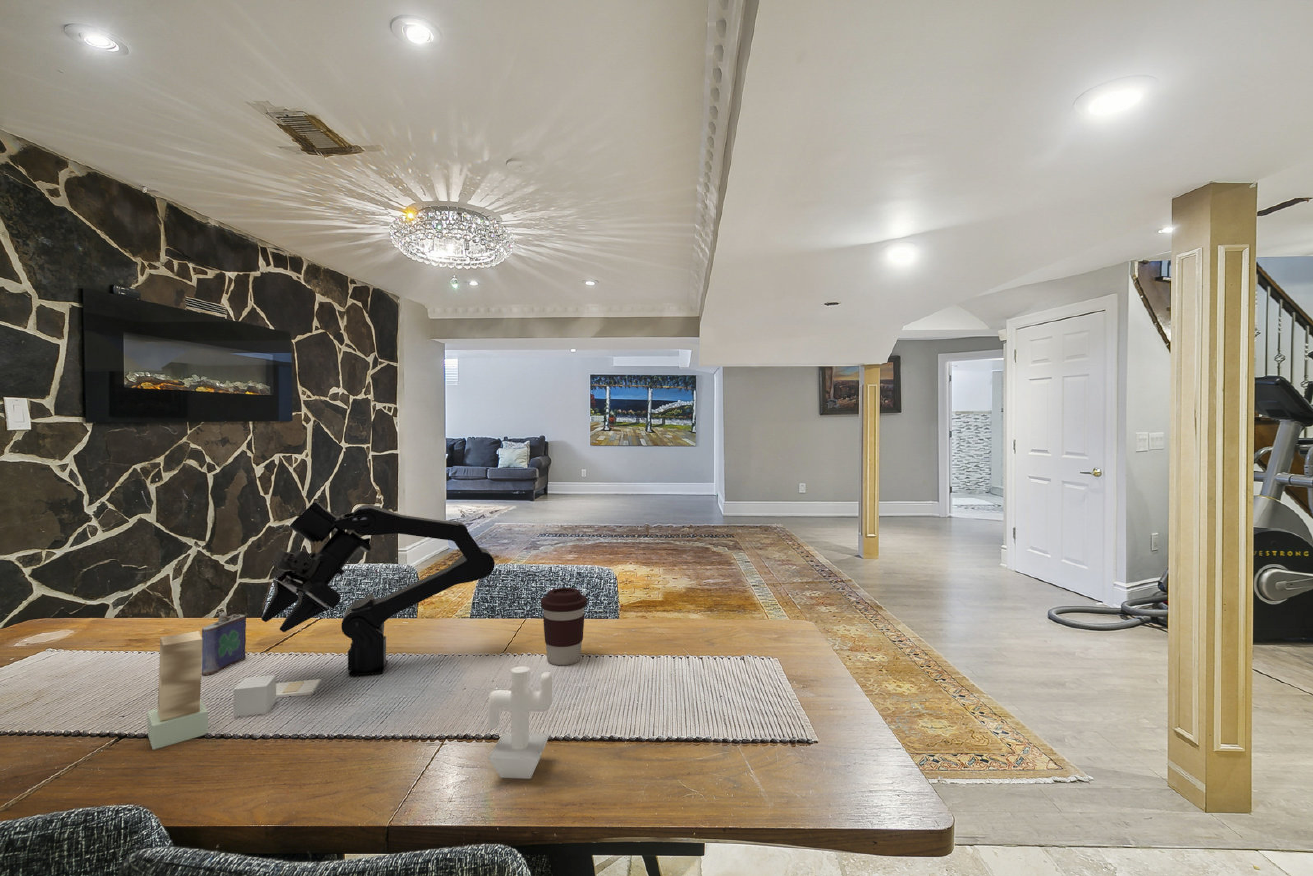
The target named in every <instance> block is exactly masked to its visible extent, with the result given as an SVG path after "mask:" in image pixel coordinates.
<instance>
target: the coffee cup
mask: <svg viewBox="0 0 1313 876" xmlns="http://www.w3.org/2000/svg"><path fill="white" fill-rule="evenodd" d="M587 599H588V598H587V596H586V595H584V594H582V593H581V591H580V589H577V588H573V587H558V588H557V587H556V588H553V589H550V590H549V591H548V592H547V595H545V596H543V597H542V598H541V599H540V608H541V609H542V610H543V616H542V617H543V618H542V621H543V633H544V635H543V636H544V643H545V647H546V660H547V661H548V663H550V664H552V665H555V666H569V665H572V664H573V665H574V664H575V663H577V662H579V661H580V660H581V657H582V642H583V640H584V627H585V608H586V606H587V605H588V600H587Z"/></svg>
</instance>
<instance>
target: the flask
mask: <svg viewBox="0 0 1313 876" xmlns="http://www.w3.org/2000/svg"><path fill="white" fill-rule="evenodd" d="M218 615H219V616H218ZM227 615H228V613H227V612H226V611H220V612H217V613H216V615H215V616H218V618H217V621H216V622H214V623H211V624H209V625H206V626H204V627H202V628H201V637H202V639H203V641H202V666H201V676H210V675H212V674H217V673H219V672H220V671H222V669H223V670H225V669H224V668H226V669H228V668H230V667H231V666H232V665H236V664H237V663H240V662H243V661H245V660H246V658H247V657H246V644H247V643H246V642H247V636H246V633H247V631H246V630H247V621H246V620H247V615H245V614H232V615H230V616H227Z"/></svg>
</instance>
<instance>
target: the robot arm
mask: <svg viewBox="0 0 1313 876" xmlns="http://www.w3.org/2000/svg"><path fill="white" fill-rule="evenodd" d="M288 528H289V529H291V530H292V531H294V532H296V534H298V535H299V536H301V537H303V538H304V539H305V540H307V541H308V542H310V543H311V544H315V542H316V543H319V542H320V543H322V542H324V541H325V539H327V537H328V536H329V535H330V534H331V533H332V532H333V531H334V533H333V535H331V537H329V539H328V540H327V541H326V542H325V543H324V545H322V546H321V547H320V549H319V550H318V551H317V552H315V551H312V552H306V551H303V550H299V549H298V550H296V551H295V552H294V553H293V552H289V551H286V550H281V549H278V550H277V552H276V554H275V557H274V559H273V561H272V563H271V566H272V567H276V568H277V569H278V570H276V572H275V573H274V574H273V575H272V576H271V577H272V578H274V579H273V580H272V583H273V587H274V589H273V590H274V593H273V594H272V597H271V598H270V600H269V603H268V605H267V607H266V608H265V610H264V613H263V615H262V617H261V621H263V622H265V623H267V622H269V621H270V620H272V619H273V618H275V617H277V615H280V613H282V612H284V611H285V610H286V609H288V608H289V607H291V606H292V605H293V604H295V603H296V604H295V605H294V607H293V609H292V610H291V611H290V612H289V614H288V615H287V617H286V618H285V619H284V621H283V622H282V624H281V626H280V627H279V631H281V632H282V633H286V632H289V631H290V630H292V629H293V628H296V627H297V626H298V625H301V624H302V623H305V622H306V621H308V620H310V619H312V618H314V617H315V616H318V615H320V614H321V613H324V612H328V611H329V608H330V609H332V610H334V609H335V608H336V606H337V605H338V604H339V603H340V602H341V593H339V592H338V591H336V589H334V588H332V587H331V586H330V585H329V584H330V583H331V582H332V581H333V579H335V578H336V576H342V575H343V574H344V573H345V571H346V570H344V569H343V568H344V567H345V566H346V564H348V562H349V561H350V560H351V559H352V557H353V556H354V555H355V554H356V553H357V552H358V551H359V550H362V551H363V552H364V553H368V552H370V551H371V550H372V548H371V538H370V537H367V538H363V537H361V536H382V535H383V536H384V535H394V534H397V535H398V534H400V535H407V536H415V537H421V538H430V539H437V540H442V541H445V540H446V541H452V542H454V544H455V545H456V547H457V548H458V549H459V551H460V552H461V554H462V555H461V556H459V557H458V558H457V559H456V560H455V561H454V562H452V563H451V564H450V565H449V566H447V567H444V568H443V569H441V570H439V571H437V572H434V573H433V574H430V575H428V576H426V577H424V578H422V579H420V580H418V581H415V582H413V583H412V584H409V585H406V586H405V587H403V588H401V589H398V590H397V591H395V592H394V591H393V593H392V592H391V593H390V594H388V595H386V596H383V597H382V596H381V597H375V595H374V592H370V593H369V594H368V595H366V596H364V597H363V598H360V599H356V600H355V599H354V600H353V602H352V605H350V606H348V608H346V610H345V612H344V615H343V617H342V620H341V626H340V627H341V631H342V633H343V635H344V636H345V637H347V638H349V639H351V642H350V648H349V649H348V651H347V670H348V671H349V672H348V677H357V676H367V675H379V674H383V673H384V672H385V670H386V668H387V665H388V663H389V660H388V659H387V636H386V635H384V633H385V622H386V621H388V620H389V619H390V618H391V617H392V616H394V615H396V614H398V613H400V612H403V611H405V610H407V609H408V608H411V607H413V606H415V605H416V604H419V603H421V602H423V601H425V600H427V599H429V598H431V597H433V596H436V595H438V594H439V593H441V592H444V591H445V590H448V589H450V588H452V587H454V586H456V585H461V584H466V583H472V582H475V581H478V580H482V579H485V578H487V577H489V576H490V575H491V574H492V573H493V571H494V569H495V563H496V562H495V559H494V557H493V556H492V554H491V553H490V551H489V550H487V549H486V548H485V547H481V546H479V545H478V544H477V542H476V540H475V539H474V538H473V537H472V535H471V534H470V532H469V530H468V528H467V527H466V525H465V524H464V523H463V522H461V521H446V520H440V519H434V518H426V517H425V518H424V517H419V516H418V517H417V516H411V515H406V514H405V515H404V514H400V513H397V512H393V511H391V510H388V509H387V508H383V507H381V506H376V505H373V504H363V505H360V506H359V507H357V508H356V509H354V511H353V512H348V513H345V514H343V513H342V514H340V515H337V516H336V515H335V514H333V513H332V512H330V511H329V510H328V509H326V508H325V507H324V506H323V504H321V503H320V502H318V501H317V500H315V501H313V502H312V503H311V504H310V505H309V506H307V508H306V509H305V510H304V511H302V512H301V513H300V514H299V515H298V516H297V517H296V518H295V519H294V520H293V522H291V523H290V525H289V526H288ZM345 530H346V531H345ZM347 531H351V532H347ZM360 535H361V536H360Z"/></svg>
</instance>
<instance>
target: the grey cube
mask: <svg viewBox="0 0 1313 876" xmlns="http://www.w3.org/2000/svg"><path fill="white" fill-rule="evenodd" d="M276 683H277V675H276V674H274V675H273V674H271V675H262V676H253V677H244V678H243V680H241V682H239V683H238V684H237V686H236V687H235V688H233V718H239V717H238V716H243V717H249V716H248V715H252V716H258V715H257V714H261V715H267V714H268V713H269V711H271V709H272V708H273V706H275V704H276V703H277V698H276ZM271 707H272V708H271ZM255 714H256V715H255Z"/></svg>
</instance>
